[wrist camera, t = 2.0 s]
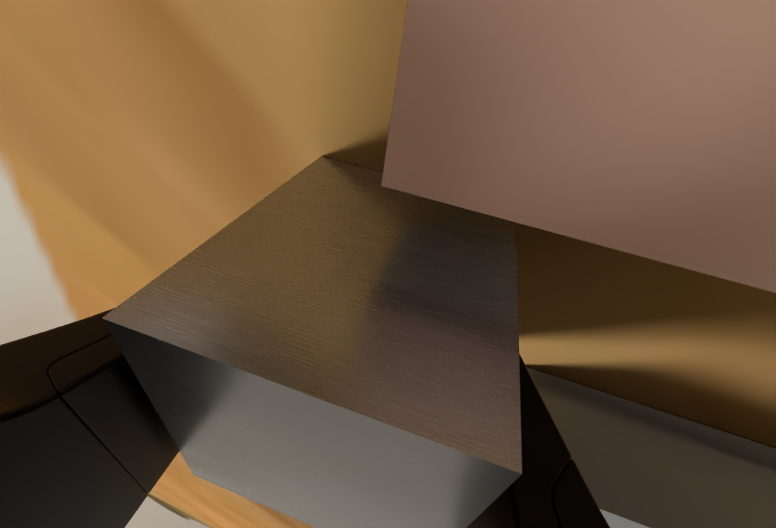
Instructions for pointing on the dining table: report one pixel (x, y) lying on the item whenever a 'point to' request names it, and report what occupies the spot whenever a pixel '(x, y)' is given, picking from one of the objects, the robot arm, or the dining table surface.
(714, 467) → the tote
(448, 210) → the metal box
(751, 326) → the dining table surface
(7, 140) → the dining table surface
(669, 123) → the pinkish brown block
